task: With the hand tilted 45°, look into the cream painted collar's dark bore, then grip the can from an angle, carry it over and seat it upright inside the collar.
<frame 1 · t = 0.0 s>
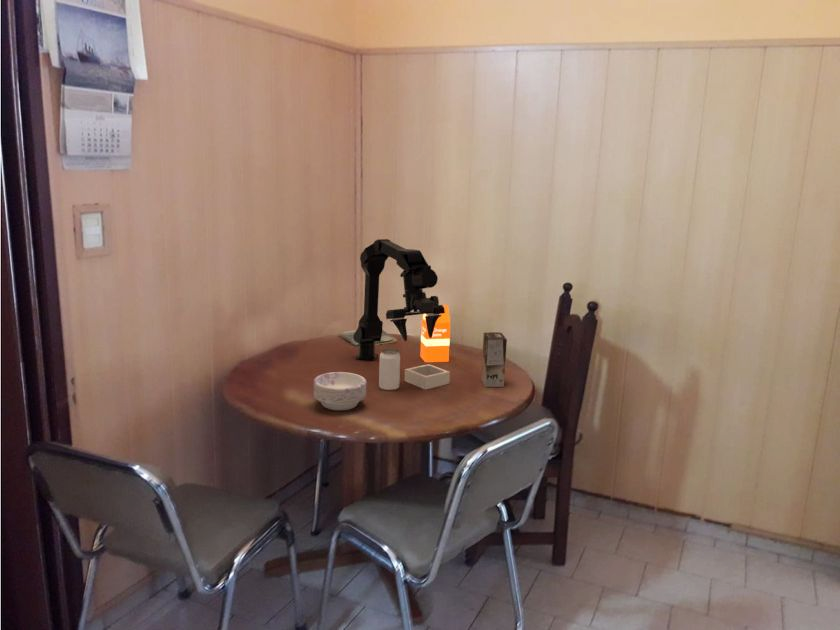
hand: (418, 339, 217), 15 cm above the table, tool pointing down, fingers open, 9 cm apart
collar: (426, 382, 224), on the table
dish towel: (368, 341, 274), on the table
paper bowls: (339, 405, 201), on the table
can: (389, 387, 218), on the table
coffee box: (492, 383, 226), on the table
orange juice: (434, 359, 250), on the table
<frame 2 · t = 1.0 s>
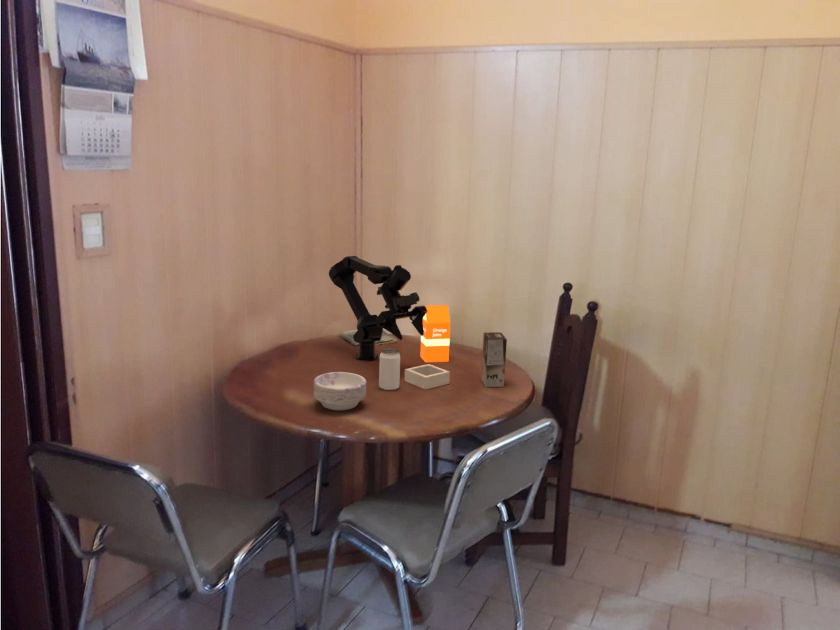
hand: (412, 337, 227), 13 cm above the table, tool tilted 45°, fingers open, 9 cm apart
nothing on the table moved.
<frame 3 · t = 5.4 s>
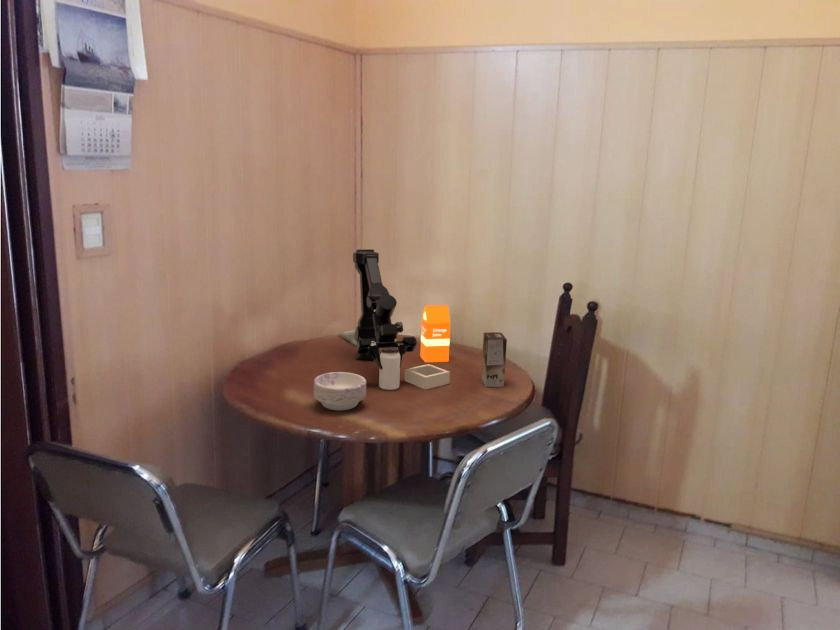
hand: (390, 368, 215), 7 cm above the table, tool tilted 45°, fingers closed on can, 5 cm apart
can: (389, 387, 218), on the table, touching gripper
everything else where it was.
when the fingers open (8 cm above the table, at t = 10.7 s): can stays where it is, resting on collar.
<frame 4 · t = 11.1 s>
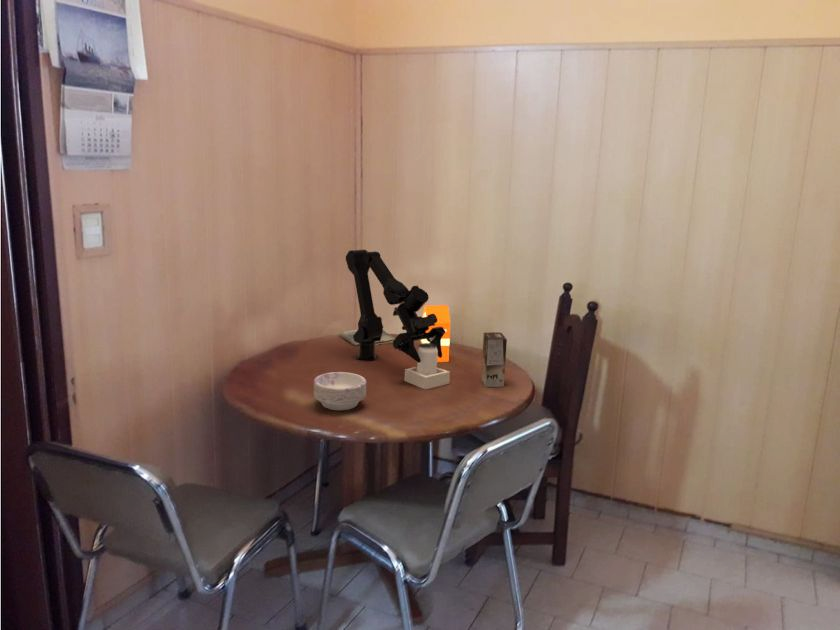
hand: (430, 359, 221), 8 cm above the table, tool tilted 45°, fingers open, 9 cm apart
can: (426, 381, 224), resting on collar
everything else where it was.
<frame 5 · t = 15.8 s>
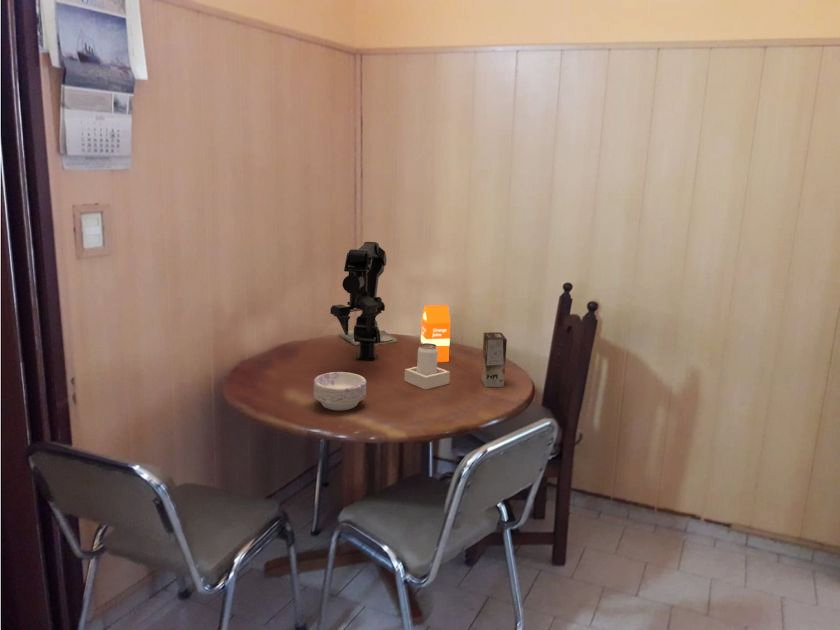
hand: (357, 333, 231), 13 cm above the table, tool pointing down, fingers open, 9 cm apart
nothing on the table moved.
at the end: can 0.2 cm off-centre on the collar, point 0.2 cm above the collar's base; can tilted 0°; the gripper is holding nothing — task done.
